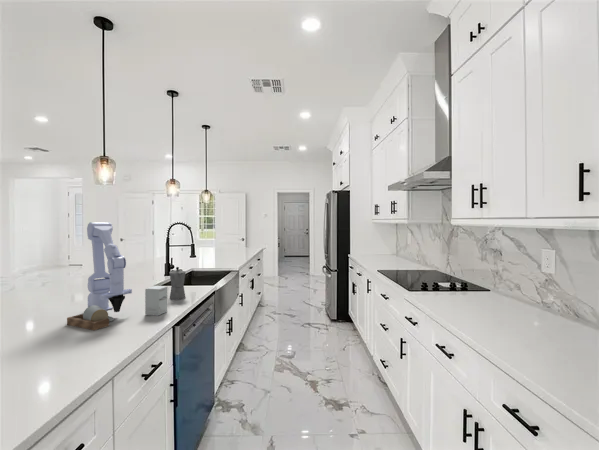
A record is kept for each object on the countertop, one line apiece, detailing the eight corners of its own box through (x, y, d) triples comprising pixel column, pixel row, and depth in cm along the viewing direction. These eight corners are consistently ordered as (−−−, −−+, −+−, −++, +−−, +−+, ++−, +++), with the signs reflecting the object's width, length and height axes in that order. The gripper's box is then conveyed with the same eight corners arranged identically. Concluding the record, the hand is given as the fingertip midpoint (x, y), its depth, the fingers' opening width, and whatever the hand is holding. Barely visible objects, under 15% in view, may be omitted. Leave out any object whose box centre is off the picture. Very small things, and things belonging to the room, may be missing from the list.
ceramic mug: (91, 328, 137) (91, 309, 137) (82, 324, 141) (82, 306, 141) (117, 322, 145) (117, 305, 145) (108, 319, 150) (108, 302, 150)
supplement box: (158, 316, 155) (158, 289, 154) (144, 315, 156) (144, 288, 156) (167, 311, 162) (167, 286, 162) (154, 310, 163) (154, 285, 163)
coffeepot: (190, 298, 190) (190, 267, 189) (174, 301, 183) (174, 269, 183) (178, 294, 201) (178, 264, 201) (163, 296, 194) (163, 266, 194)
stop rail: (67, 324, 141) (66, 317, 141) (82, 320, 147) (82, 313, 147) (94, 330, 134) (94, 323, 134) (109, 325, 140) (109, 318, 140)
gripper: (107, 286, 144) (107, 316, 145) (136, 280, 158) (136, 308, 158) (97, 284, 147) (97, 314, 148) (126, 279, 161) (126, 307, 161)
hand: (116, 311), depth 153 cm, fingers closed
